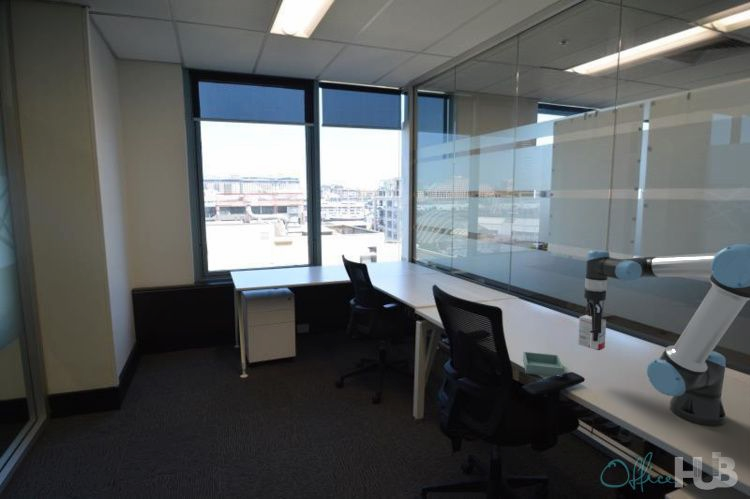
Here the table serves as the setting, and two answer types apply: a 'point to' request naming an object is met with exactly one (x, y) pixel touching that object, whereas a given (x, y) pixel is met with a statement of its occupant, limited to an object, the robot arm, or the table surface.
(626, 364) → the table surface
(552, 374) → the bin
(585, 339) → the ink box
